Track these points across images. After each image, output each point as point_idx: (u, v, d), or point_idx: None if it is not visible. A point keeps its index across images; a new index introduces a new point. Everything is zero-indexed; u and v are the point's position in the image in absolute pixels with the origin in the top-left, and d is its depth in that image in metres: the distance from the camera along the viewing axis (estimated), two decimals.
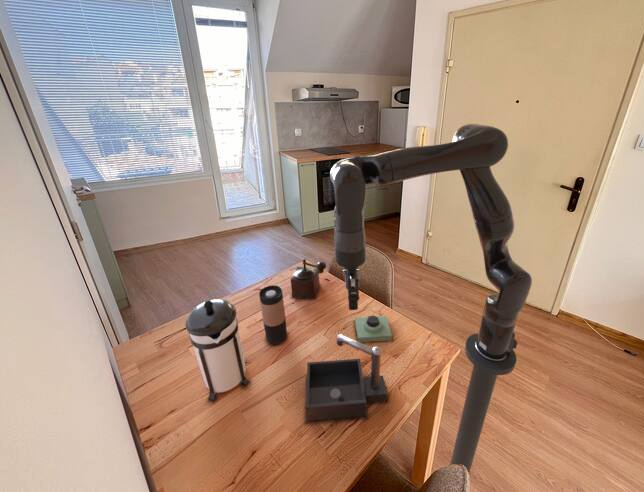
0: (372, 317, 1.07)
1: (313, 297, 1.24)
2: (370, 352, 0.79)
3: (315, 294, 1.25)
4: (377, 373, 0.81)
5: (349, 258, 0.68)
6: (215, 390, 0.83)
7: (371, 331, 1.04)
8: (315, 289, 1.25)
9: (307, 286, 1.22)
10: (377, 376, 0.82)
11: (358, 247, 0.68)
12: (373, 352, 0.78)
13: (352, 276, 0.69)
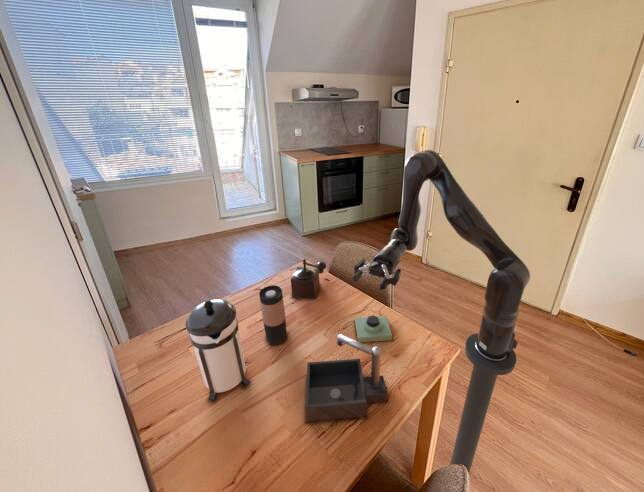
0: (372, 317, 1.07)
1: (313, 297, 1.24)
2: (370, 352, 0.79)
3: (315, 294, 1.25)
4: (377, 373, 0.81)
5: None
6: (215, 390, 0.83)
7: (371, 331, 1.04)
8: (315, 289, 1.25)
9: (307, 286, 1.22)
10: (377, 376, 0.82)
11: None
12: (373, 352, 0.78)
13: None
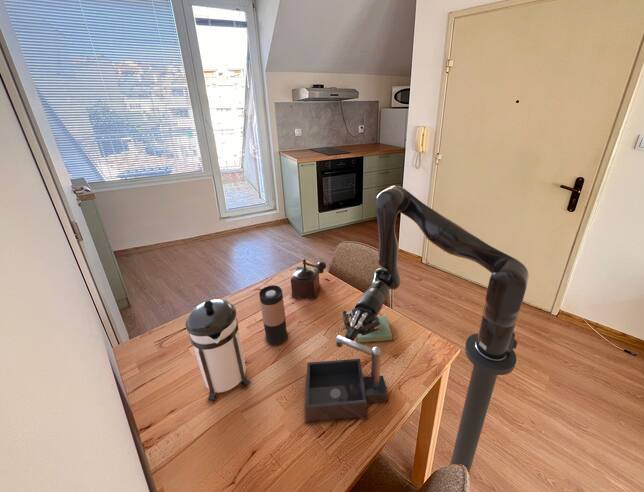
0: None
1: (313, 297, 1.24)
2: (370, 352, 0.79)
3: (315, 294, 1.25)
4: (377, 373, 0.81)
5: None
6: (215, 390, 0.83)
7: None
8: (315, 289, 1.25)
9: (307, 286, 1.22)
10: (377, 376, 0.82)
11: None
12: (373, 352, 0.78)
13: None
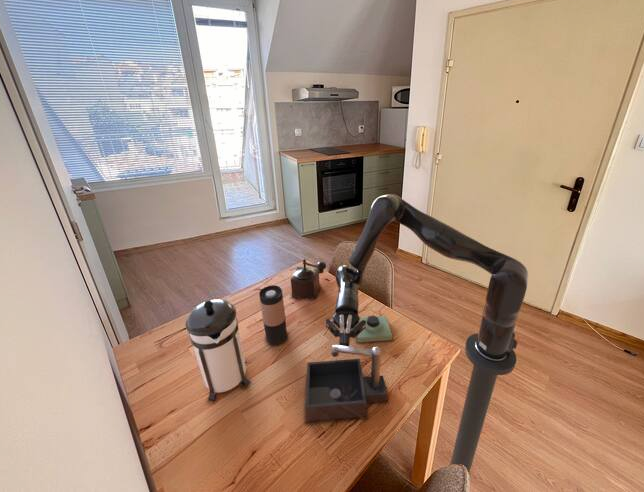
0: (372, 317, 1.07)
1: (313, 297, 1.24)
2: (370, 354, 0.79)
3: (315, 294, 1.25)
4: (378, 372, 0.81)
5: None
6: (215, 390, 0.83)
7: (371, 331, 1.04)
8: (315, 289, 1.25)
9: (307, 286, 1.22)
10: (378, 375, 0.82)
11: (337, 299, 0.98)
12: (374, 353, 0.78)
13: None
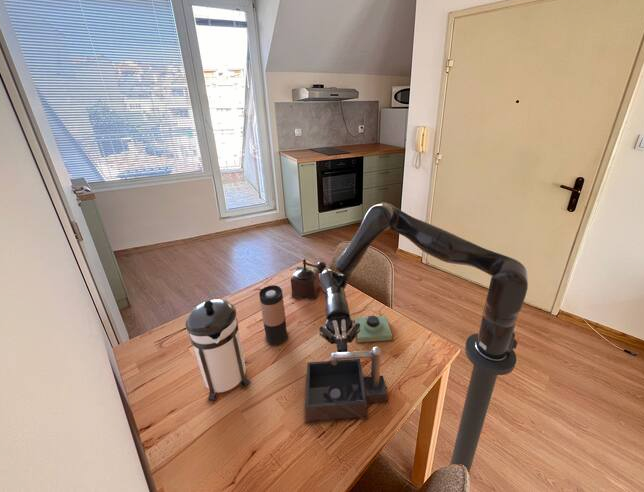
0: (372, 317, 1.07)
1: (313, 297, 1.24)
2: (371, 355, 0.79)
3: (315, 294, 1.25)
4: (379, 372, 0.81)
5: None
6: (215, 390, 0.83)
7: (371, 331, 1.04)
8: (315, 289, 1.25)
9: (307, 286, 1.22)
10: (379, 375, 0.82)
11: (326, 305, 0.95)
12: (375, 353, 0.78)
13: None
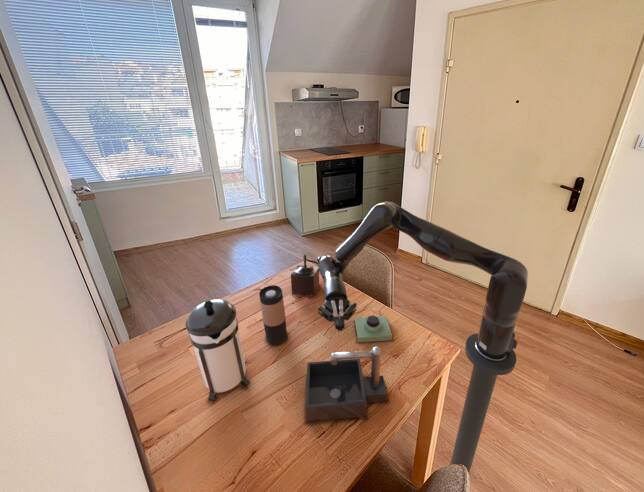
0: (372, 317, 1.07)
1: (312, 294, 1.24)
2: (371, 355, 0.79)
3: (315, 291, 1.25)
4: (379, 372, 0.81)
5: None
6: (215, 390, 0.83)
7: (371, 331, 1.04)
8: (315, 286, 1.25)
9: (307, 282, 1.23)
10: (379, 375, 0.82)
11: (325, 287, 1.01)
12: (375, 353, 0.78)
13: None
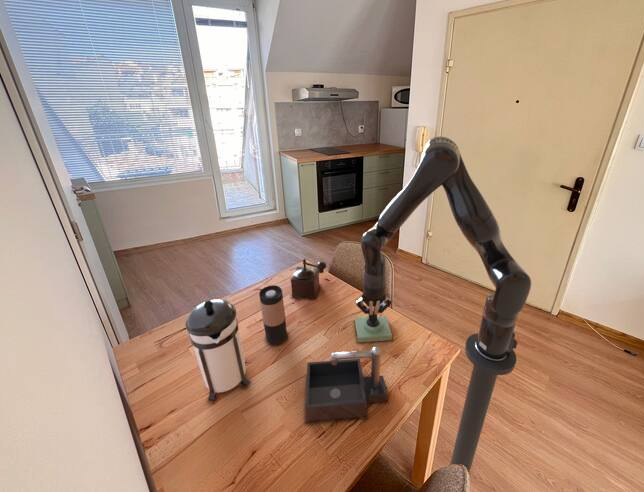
0: None
1: (313, 297, 1.24)
2: (371, 355, 0.79)
3: (315, 294, 1.25)
4: (379, 372, 0.81)
5: (363, 285, 1.00)
6: (215, 390, 0.83)
7: (371, 331, 1.04)
8: (315, 289, 1.25)
9: (307, 286, 1.22)
10: (379, 375, 0.82)
11: (365, 283, 0.97)
12: (375, 353, 0.78)
13: (359, 299, 1.02)
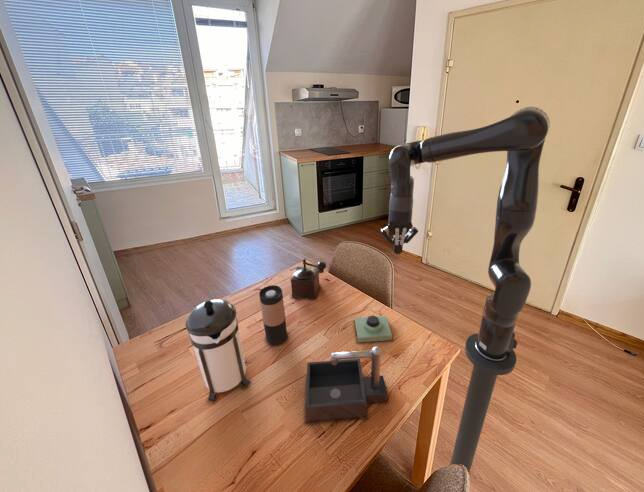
0: (372, 317, 1.07)
1: (313, 297, 1.24)
2: (371, 355, 0.79)
3: (315, 294, 1.25)
4: (379, 372, 0.81)
5: (389, 212, 0.96)
6: (215, 390, 0.83)
7: (371, 331, 1.04)
8: (315, 289, 1.25)
9: (307, 286, 1.22)
10: (379, 375, 0.82)
11: (392, 207, 0.93)
12: (375, 353, 0.78)
13: (385, 228, 0.98)
